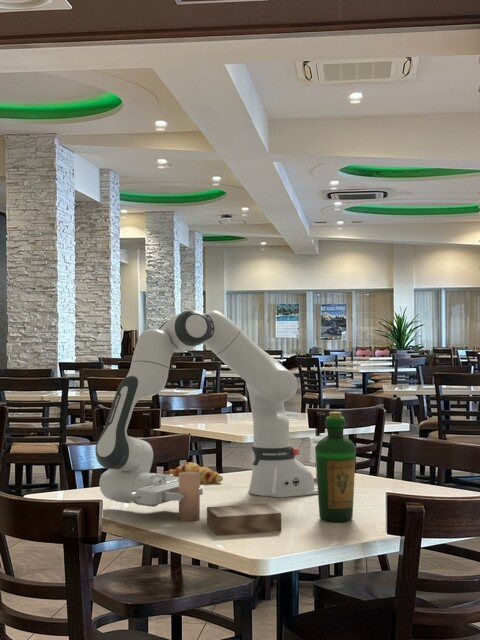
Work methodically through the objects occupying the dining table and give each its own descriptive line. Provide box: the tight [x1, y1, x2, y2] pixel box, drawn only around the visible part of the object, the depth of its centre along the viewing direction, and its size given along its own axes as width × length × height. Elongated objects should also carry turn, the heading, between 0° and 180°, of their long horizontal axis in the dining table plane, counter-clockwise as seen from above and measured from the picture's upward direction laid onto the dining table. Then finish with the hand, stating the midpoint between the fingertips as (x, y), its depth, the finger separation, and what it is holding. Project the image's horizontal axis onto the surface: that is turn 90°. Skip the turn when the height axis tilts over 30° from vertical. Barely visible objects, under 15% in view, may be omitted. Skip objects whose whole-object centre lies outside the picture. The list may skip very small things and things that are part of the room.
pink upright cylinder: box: [178, 472, 201, 522], centre depth 214 cm, size 6×6×12 cm
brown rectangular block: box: [206, 503, 282, 536], centre depth 203 cm, size 16×12×4 cm
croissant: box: [162, 461, 224, 485], centre depth 271 cm, size 21×10×8 cm, turn 74°
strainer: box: [309, 432, 327, 479], centre depth 278 cm, size 7×7×15 cm
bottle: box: [315, 411, 357, 523], centre depth 213 cm, size 11×11×28 cm
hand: (192, 494), depth 214 cm, fingers open, 7 cm apart
